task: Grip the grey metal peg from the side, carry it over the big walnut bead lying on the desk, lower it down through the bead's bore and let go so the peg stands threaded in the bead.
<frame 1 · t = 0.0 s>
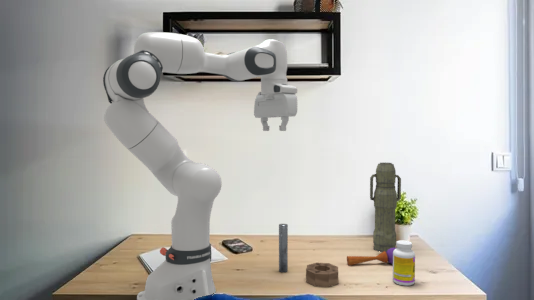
hand: (274, 130, 130), 48 cm above the table, tool pointing down, fingers open, 8 cm apart
thermos: (384, 249, 156), on the table
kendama: (375, 265, 138), on the table
bead: (322, 280, 123), on the table
supplement bottle: (403, 282, 122), on the table
grey metal peg: (283, 270, 132), on the table
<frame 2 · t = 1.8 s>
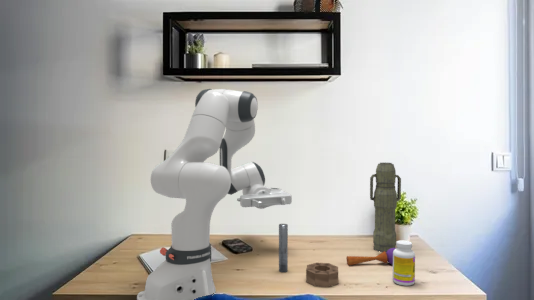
hand: (271, 203, 142), 21 cm above the table, tool horizontal, fingers open, 8 cm apart
nothing on the table moved.
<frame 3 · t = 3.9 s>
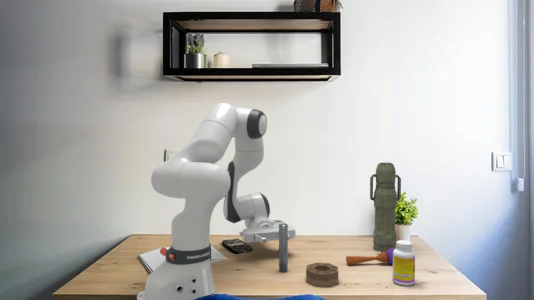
hand: (275, 239, 139), 9 cm above the table, tool horizontal, fingers open, 8 cm apart
nothing on the table moved.
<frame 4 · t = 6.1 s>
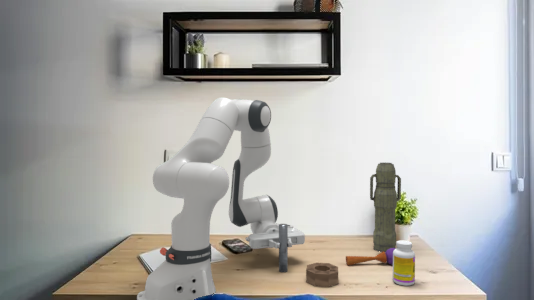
hand: (284, 245, 131), 9 cm above the table, tool horizontal, fingers closed on grey metal peg, 3 cm apart
grey metal peg: (283, 270, 132), on the table, touching gripper
everything else where it was.
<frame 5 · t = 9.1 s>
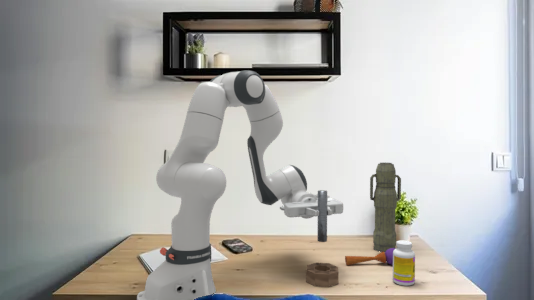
hand: (323, 213, 121), 22 cm above the table, tool horizontal, fingers closed on grey metal peg, 3 cm apart
grey metal peg: (322, 240, 123), point 13 cm above the table, touching gripper
everything else where it was.
when the fingers open (11 cm above the table, at t = 11.9 s): grey metal peg drops 2 cm, resting in bead.
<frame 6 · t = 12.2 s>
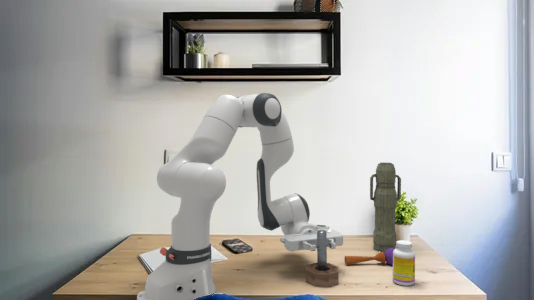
hand: (323, 247, 122), 11 cm above the table, tool horizontal, fingers open, 6 cm apart
grey metal peg: (322, 280, 123), resting in bead
everything else where it was.
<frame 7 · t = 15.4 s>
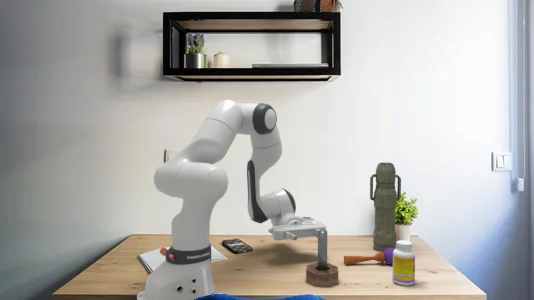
hand: (307, 236, 134), 11 cm above the table, tool horizontal, fingers open, 8 cm apart
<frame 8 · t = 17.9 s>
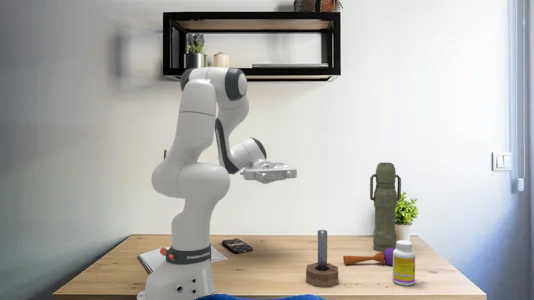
hand: (276, 176, 136), 32 cm above the table, tool horizontal, fingers open, 8 cm apart
at the end: grey metal peg 0.0 cm from the bead (horizontally); grey metal peg tilted 0°; grey metal peg resting in bead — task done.
